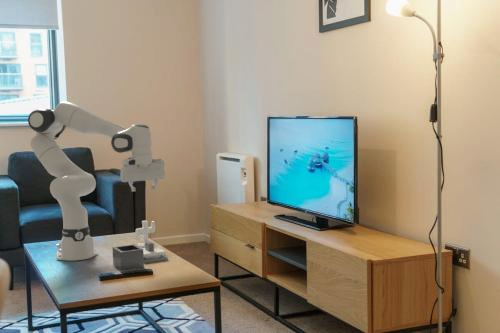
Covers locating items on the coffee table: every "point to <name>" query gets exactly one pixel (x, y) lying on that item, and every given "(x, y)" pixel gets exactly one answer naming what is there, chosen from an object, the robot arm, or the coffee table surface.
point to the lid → (152, 251)
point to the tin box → (128, 257)
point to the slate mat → (156, 259)
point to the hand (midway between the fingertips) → (143, 190)
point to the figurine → (145, 232)
